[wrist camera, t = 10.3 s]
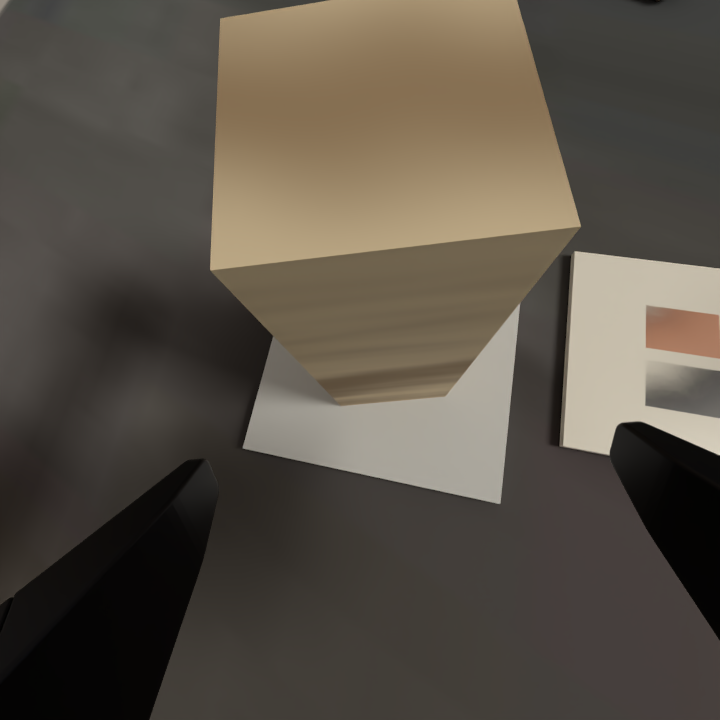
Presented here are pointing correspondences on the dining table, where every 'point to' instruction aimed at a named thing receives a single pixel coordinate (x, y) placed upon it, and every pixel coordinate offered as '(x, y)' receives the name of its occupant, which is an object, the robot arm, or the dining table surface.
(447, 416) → the pad
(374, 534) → the dining table surface
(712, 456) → the robot arm
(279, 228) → the maple block
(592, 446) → the tile
